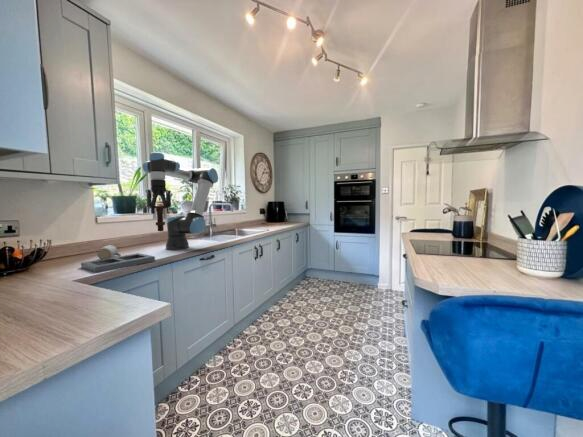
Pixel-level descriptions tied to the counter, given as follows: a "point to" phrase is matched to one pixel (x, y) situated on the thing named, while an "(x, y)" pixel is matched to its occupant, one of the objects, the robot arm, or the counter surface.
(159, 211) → the bolt
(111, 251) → the ceramic mug
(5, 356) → the counter surface
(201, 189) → the robot arm
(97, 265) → the hole plate
